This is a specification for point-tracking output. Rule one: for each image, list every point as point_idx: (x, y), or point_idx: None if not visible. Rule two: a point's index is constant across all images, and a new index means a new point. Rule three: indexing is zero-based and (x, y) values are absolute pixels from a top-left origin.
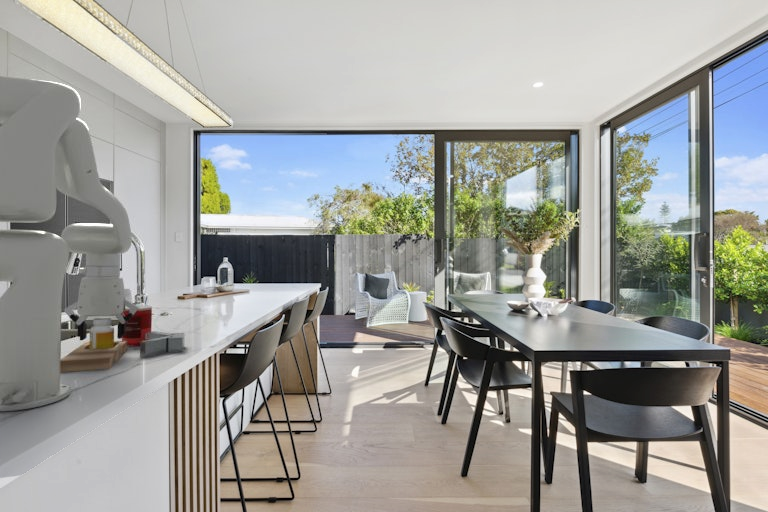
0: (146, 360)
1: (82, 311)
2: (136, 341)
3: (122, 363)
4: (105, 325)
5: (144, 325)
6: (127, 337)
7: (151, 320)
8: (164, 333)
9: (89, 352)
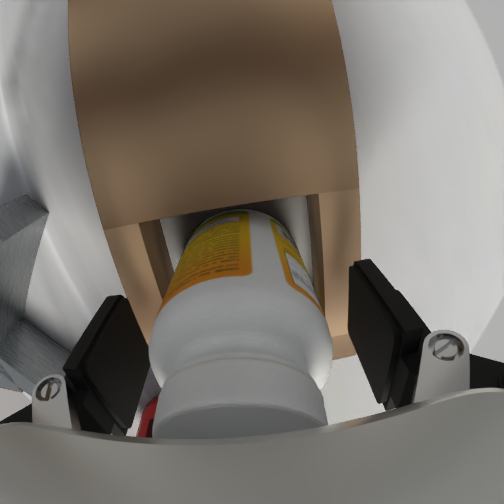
0: (6, 144)
1: (501, 438)
2: None
3: (66, 83)
4: (183, 364)
5: None
6: None
7: None
8: None
9: (228, 84)
